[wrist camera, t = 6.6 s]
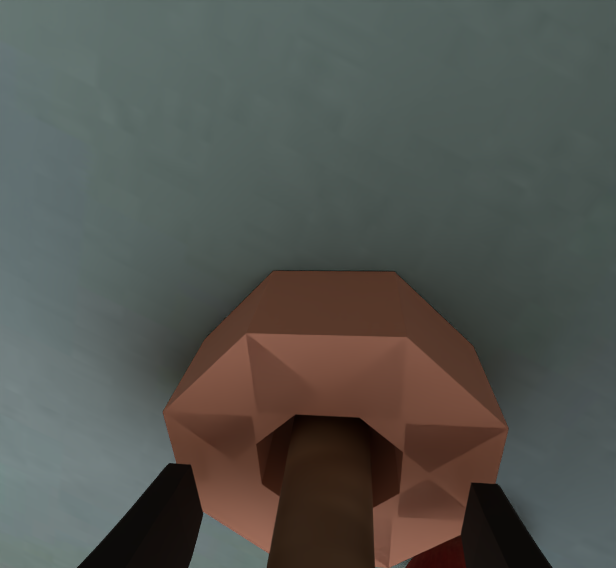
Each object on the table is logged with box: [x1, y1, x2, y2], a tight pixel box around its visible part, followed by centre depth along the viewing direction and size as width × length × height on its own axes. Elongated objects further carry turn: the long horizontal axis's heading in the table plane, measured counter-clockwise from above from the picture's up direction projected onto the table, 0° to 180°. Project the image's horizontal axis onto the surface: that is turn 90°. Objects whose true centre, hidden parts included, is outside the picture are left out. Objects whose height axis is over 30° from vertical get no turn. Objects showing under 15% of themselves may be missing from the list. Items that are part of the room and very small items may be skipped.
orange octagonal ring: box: [163, 271, 509, 568], centre depth 13 cm, size 9×9×4 cm
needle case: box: [267, 414, 375, 568], centre depth 11 cm, size 2×2×8 cm
